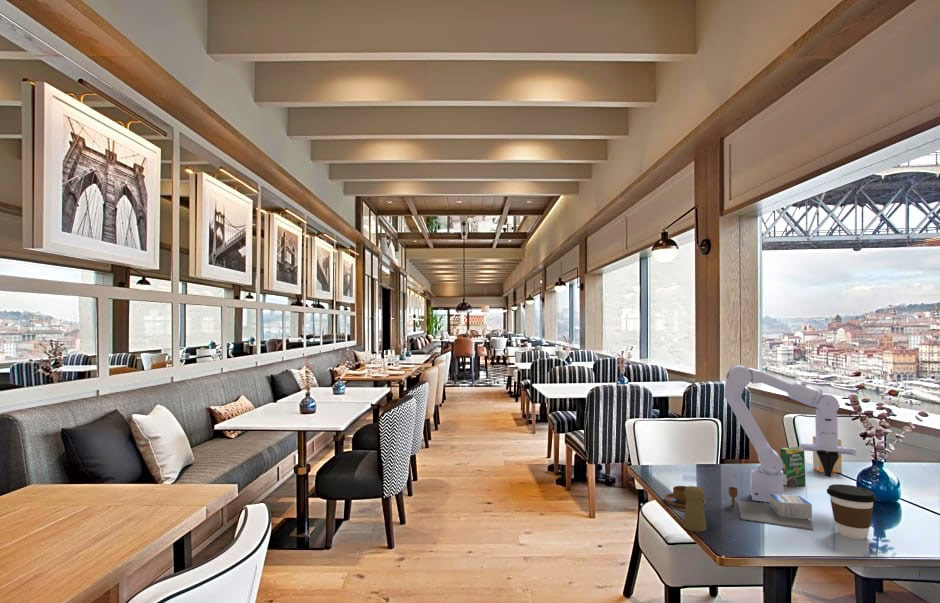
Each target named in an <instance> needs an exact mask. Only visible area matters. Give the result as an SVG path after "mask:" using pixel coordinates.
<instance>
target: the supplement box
mask: <svg viewBox="0 0 940 603" xmlns="http://www.w3.org/2000/svg"><path fill="white" fill-rule="evenodd" d="M812 444H816V435H812ZM838 446H841V447H842V439H841V438H839V437H838ZM838 455H839V458H838V460H837V461H836V463H835V465H834V467H833V470H832V473H837V474H838V473H839V474H842V472H843V471H842V470H843V469H842V468H843V467H842V454H838ZM812 465H813V466H812V468H813V470H815V471H817V472H819V473H824V469H823V466H822V463H821V461H820V459H819V457H818V455H817V453H816V452H815V451H812Z"/></svg>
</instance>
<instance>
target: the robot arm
mask: <svg viewBox="0 0 940 603" xmlns="http://www.w3.org/2000/svg"><path fill="white" fill-rule="evenodd" d="M750 383H751V384H764V385H767V386H769V387H772V388H774V389H777V390H780V391H782V392H785V393H787V395H788V397H789V399H791V400H793V401H796V402H798V403H801V404H804V405H806V406H808V407H815V436H816V444H813V443H799V446H798V447H799V448H800V451H804V452H807V451H808V452H813V451H815V452H816V453H817V455H818V457H819V459H820V461H821V463H822V466H823V469H824V472H823V473H824V476H825V477H826V478H827V477H828V478H832V474H833V472H832V470H833V467H834V465H835V463H836V461H837V460H838V458H839V455H838V454H841V455H849V456H855V457H856V456H857V449H856V448H855V447H847V446H842V445H841V446H838V438H839V428H838V427H839V426H838V425H839V424H838V412H837V411H839V409H840V404H839V401H838V399H837V398H836V397H835V396H833V395H832V394H829V393H827V392H825V391H824V390H822V389H820V388H819V389H816V388H814V387H811V386H809V385H807V384H808V383H806V382H803V381H801V382H798V381H796V382H792V383H790V382H787V381H786V380H783V379H780V378H778V377H776V376H773V375H772V374H769V373H766V372H765V371H762V370H759V369H755V368H753V367H745V366H744V365H742V364H736V365H733V366H731V367H730V368H729V370H728V372H727V374H726V376H725V383H724V384H725V385H724V386H725V387H724V394H723V396H724V397H725V401H726V402H727V404H729V405H728V406H730V408H731V410H732V412H733V414H734V415H735V417H736V419H737V421H738V422H739V424H740V426H741V427H742V429H743V431H744V432H745V434H746V435H747V436H746V437H748V439H749V441H750V443H751V444H752V446H753V448H754V450H755V452H756V453H757V459H758V461H759V463H760V464H759V466H758V467H757V469H750V487H749V492H750V495H751V496H750V497H751V500H752V501H756V502H765V503H770V494H779V495H785V493H784V485H783V471H782V468H783V461H782V459H781V458H780V455H779V453H778V452H777V451H776V450H775V449H773V448H772V447H771V445H770V443H769V442H768V440H767V438H766V437H765V435H764V433H763V432H762V430H761V428H760V427H759V425H758V424H757V421H756V420H755V418H754V417H753V415H752V413H751V412H750V410H749V408H748V407H747V405H746V403H745V402H744V400H743V398H742V395H743V394H744V391H745V388H746V387H747V386H748V385H749V384H750Z"/></svg>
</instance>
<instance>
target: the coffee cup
mask: <svg viewBox="0 0 940 603" xmlns="http://www.w3.org/2000/svg"><path fill="white" fill-rule="evenodd" d="M826 494H827V495H829V497H830V504H831V506H830V507H831V509H832V510H831V511H832V516H833V519H834V522H835V525H836V531H837V533H838V534H839V535H840V536H842V537H845V538H849V539H852V540H861V541H862V540H866V539H867V538H868V536H869V532H870V527H871V526H872V525H871V524H872V518H873V513H874V512H873V511H874V503H875V502H877V501H878V500H877V496H876V495H875V493H874V492H873V491H871V490H869V489H867V488H864V487H859V486H856V485H850V484H838V483H836V484H835V483H834V484H830V485H828V488H827V489H826Z"/></svg>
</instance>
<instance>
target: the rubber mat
mask: <svg viewBox="0 0 940 603" xmlns="http://www.w3.org/2000/svg"><path fill="white" fill-rule="evenodd" d="M737 507H739V508H738V512H739V518H741V519H742V520H741V519H740V520H741V521H747V520H750V521H749V522H753V521H757V522H756V523H760V522H765V523H764V524H767V523H769V525H774V524H776V525H775V526H781V525H782V527H790V528H796V529H804V530H810V531H814V529H813V526H812V524H811V522H810V519H799V518H785V517H780V516H779V515H778V514H777V513H776V512H775V511H774V510H772V509H771V508H770V503H769V504H768V503H761V502H753V501H752V502H751V501H745V500H737Z"/></svg>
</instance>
